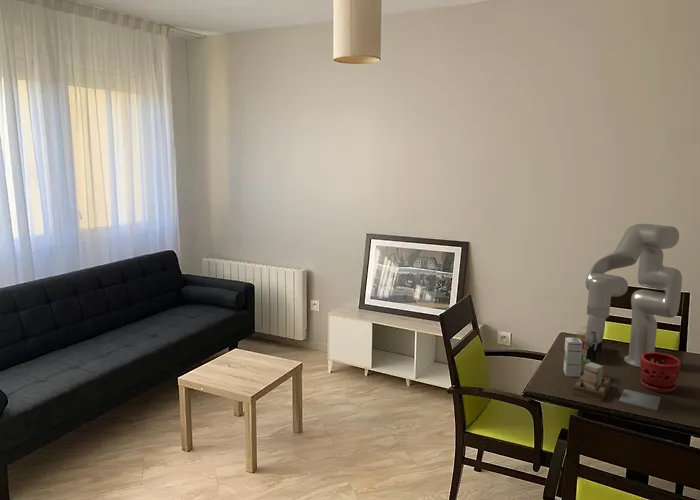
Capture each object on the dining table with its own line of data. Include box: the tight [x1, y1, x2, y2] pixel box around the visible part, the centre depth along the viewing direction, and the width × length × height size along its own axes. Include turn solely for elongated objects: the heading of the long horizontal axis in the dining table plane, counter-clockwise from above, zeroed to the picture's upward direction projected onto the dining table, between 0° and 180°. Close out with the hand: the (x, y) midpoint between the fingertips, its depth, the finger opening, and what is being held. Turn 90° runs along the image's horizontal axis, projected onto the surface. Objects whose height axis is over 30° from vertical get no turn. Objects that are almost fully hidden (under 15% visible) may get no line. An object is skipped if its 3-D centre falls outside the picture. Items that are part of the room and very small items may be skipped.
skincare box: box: [583, 361, 604, 391], centre depth 203 cm, size 5×4×10 cm
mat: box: [618, 388, 662, 412], centre depth 196 cm, size 12×12×1 cm
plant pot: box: [639, 351, 682, 393], centre depth 206 cm, size 13×13×12 cm
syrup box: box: [563, 337, 582, 378], centre depth 218 cm, size 6×6×14 cm
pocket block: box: [572, 372, 612, 402], centre depth 204 cm, size 16×10×3 cm, turn 145°
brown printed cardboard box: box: [575, 326, 592, 364], centre depth 241 cm, size 21×6×12 cm, turn 147°
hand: (593, 356), depth 201 cm, fingers open, 9 cm apart
